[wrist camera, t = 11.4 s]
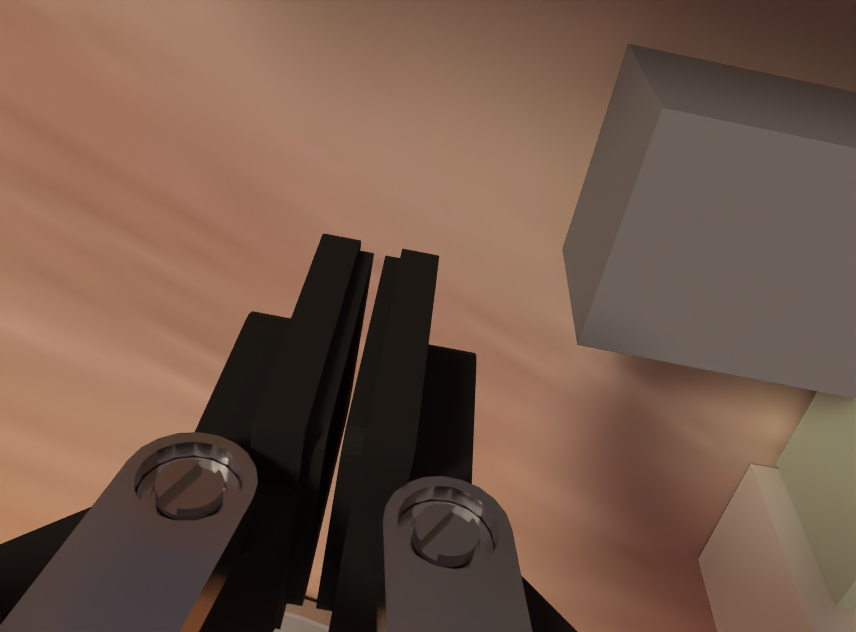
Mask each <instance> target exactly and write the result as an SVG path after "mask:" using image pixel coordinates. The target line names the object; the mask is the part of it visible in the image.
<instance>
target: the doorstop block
mask: <svg viewBox="0 0 856 632" xmlns="http://www.w3.org/2000/svg"><path fill="white" fill-rule="evenodd" d="M563 255H564V262H565V268H566V275H567V281H568V288H569V294H570V300H571V307H572V313H573V320H574V326H575V333H576V339H577V345H581V346H586V347H591V348H596V349H601V350H606V351H612V352H617V353H622V354H627V355H632V356H637V357H643V358H648V359H653V360H658V361H663V362H668V363H673V364H679V365H684V366H689V367H694V368H699V369H704V370H709V371H715V372H720V373H725V374H730V375H735V376H740V377H746V378H751V379H756V380H761V381H766V382H771V383H776V384H782V385H787V386H792V387H797V388H802V389H807V390H812V391H818V392H823V393H828V394H833V395H838V396H843V397H849V398H854V397H855V395H856V93H855V92H851V91H846V90H841V89H837V88H832V87H827V86H822V85H818V84H813V83H808V82H804V81H799V80H794V79H790V78H785V77H780V76H776V75H771V74H766V73H762V72H757V71H752V70H748V69H743V68H738V67H733V66H729V65H724V64H719V63H715V62H710V61H705V60H701V59H696V58H691V57H687V56H682V55H677V54H673V53H668V52H663V51H659V50H654V49H649V48H644V47H640V46H635V45H630V44H628V47H627V50H626V53H625V56H624V59H623V62H622V65H621V69H620V72H619V75H618V78H617V81H616V84H615V87H614V90H613V93H612V97H611V100H610V103H609V106H608V109H607V112H606V115H605V118H604V122H603V125H602V128H601V131H600V134H599V137H598V140H597V143H596V146H595V150H594V153H593V156H592V159H591V162H590V165H589V168H588V171H587V174H586V178H585V181H584V184H583V187H582V190H581V193H580V196H579V199H578V202H577V206H576V209H575V212H574V215H573V218H572V221H571V224H570V227H569V231H568V234H567V237H566V240H565V243H564V246H563Z"/></svg>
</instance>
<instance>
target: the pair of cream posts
mask: <svg viewBox="0 0 856 632" xmlns="http://www.w3.org/2000/svg"><path fill="white" fill-rule="evenodd" d="M698 561H699V565H700V569H701V573H702V576H703V580H704V584H705V588H706V592H707V595H708V599H709V603H710V607H711V610H712V614H713V618H714V622H715V626H716V629H717V632H856V610H853V609H847V608H842V607H836V604H835V602H834V600H833V597H832V595H831V592H830V590H829V588H828V585H827V583H826V580H825V578H824V576H823V573H822V571H821V568H820V566H819V564H818V561H817V559H816V557H815V554H814V552H813V549H812V547H811V545H810V542H809V540H808V537H807V535H806V533H805V530H804V528H803V525H802V523H801V521H800V518H799V516H798V513H797V511H796V509H795V506H794V504H793V502H792V499H791V497H790V494H789V492H788V490H787V487H786V485H785V482H784V480H783V478H782V475H781V473H780V470H779V469H776V468H770V467H765V466H759V465H754V464H750V466H749V468H748V470H747V472H746V473H745V475H744V477H743V479H742V481H741V482H740V484H739V486H738V488H737V490H736V491H735V493H734V495H733V497H732V499H731V500H730V502H729V504H728V506H727V508H726V510H725V511H724V513H723V515H722V517H721V519H720V520H719V522H718V524H717V526H716V528H715V529H714V531H713V533H712V535H711V537H710V538H709V540H708V542H707V544H706V546H705V547H704V549H703V551H702V553H701V555H700V556H699V558H698Z"/></svg>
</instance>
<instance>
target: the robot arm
mask: <svg viewBox="0 0 856 632" xmlns="http://www.w3.org/2000/svg"><path fill="white" fill-rule="evenodd" d="M360 248H361V241H360V240H355V239H350V238H345V237H339V236H334V235H329V234H323V235H322V237H321V240H320V243H319V245H318V248H317V251H316V253H315V256H314V259H313V261H312V264H311V267H310V269H309V272H308V275H307V277H306V280H305V283H304V285H303V288H302V291H301V293H300V296H299V299H298V301H297V304H296V307H295V309H294V312H293V315H292V317H291V318H285V317H280V316H275V315H269V314H264V313H259V312H253V311H252V312H251V313H249V315H248V317H247V319H246V320H245V323H244V325H243V327H242V329H241V331H240V334H239V336H238V338H237V340H236V342H235V345H234V347H233V349H232V351H231V353H230V356H229V358H228V360H227V362H226V364H225V367H224V369H223V371H222V373H221V375H220V378H219V380H218V382H217V384H216V386H215V389H214V391H213V393H212V395H211V397H210V400H209V402H208V404H207V406H206V408H205V411H204V413H203V415H202V417H201V419H200V422H199V424H198V426H197V428H196V430H195V432H193V433H177V434H173V435H169V436H166V437H162V438H158V439H156V440H155V441H153V442H151V443H149V444H147V445H145V446H143V447H141V448H140V449H139V450H138V451H137V452H136V453H135V454H134V455H133V456H132V457H131V458H130V459H129V460H128V461H127V462H126V463H125V464H124V466H123V467H122V468H121V470H120V471H119V472H118V474H117V475H116V476H115V477H114V479H113V480H112V481H111V483H110V484H109V485H108V486H107V488H106V489H105V490H104V492H103V493H102V494H101V496H100V497H99V498H98V499H97V501H96V502H95V503H94V505H93V506H92V507H90V508H87V509H85V510H82V511H80V512H78V513H75V514H73V515H70V516H68V517H65V518H63V519H61V520H58V521H56V522H53V523H51V524H48V525H46V526H44V527H41V528H39V529H36V530H34V531H31V532H29V533H27V534H24V535H22V536H19V537H17V538H14V539H12V540H10V541H7V542H5V543H2V544H0V632H577V631H576V630H575V629H574V628H573V627H572V626H571V625H570V624H569V623H568V622H567V621H566V620H565V619H564V618H563V617H562V616H561V615H560V614H559V613H558V612H557V611H556V610H555V609H554V608H553V607H552V606H551V605H550V604H549V603H548V602H547V601H546V600H545V599H544V598H543V597H542V596H541V595H540V594H539V593H538V592H537V591H536V590H535V589H534V588H533V587H532V586H531V585H530V584H529V583H528V582H527V581H526V580H525V579H524V578H523V577H522V576H521V572H520V567H519V562H518V557H517V552H516V547H515V542H514V536H513V531H512V528H511V525H510V523H509V520H508V517H507V515H506V513H505V511H504V510H503V509H502V508H501V506H500V505H499V504H498V503H497V501H496V500H495V499H494V498H493V497H491V496H490V495H489V494H487V493H486V492H485V491H483V490H482V489H481V488H479V487H477V486H475V485H472V462H473V436H474V410H475V384H476V354H475V353H472V352H466V351H461V350H456V349H450V348H445V347H440V346H434V345H429V336H430V328H431V319H432V311H433V303H434V295H435V287H436V278H437V270H438V262H439V256H438V255H433V254H428V253H423V252H417V251H412V250H407V249H402V252H401V257H400V258H396V257H390V256H385V260H384V265H383V269H382V273H381V278H380V282H379V286H378V291H377V295H376V299H375V304H374V308H373V312H372V317H371V321H370V325H369V330H368V334H367V338H366V343H365V347H364V351H363V356H362V360H361V364H360V369H359V373H358V377H357V382H356V386H355V390H354V395H353V399H352V403H351V408H350V412H349V416H348V421H347V425H346V430H345V435H344V440H343V445H342V451H341V456H340V462H339V468H338V475H337V481H336V487H335V493H334V499H333V505H332V512H331V518H330V524H329V530H328V536H327V543H326V549H325V555H324V561H323V567H322V574H321V580H320V586H319V592H318V598H317V603H316V602H313V601H310V600H307V599H305V595H306V590H307V586H308V582H309V577H310V573H311V569H312V565H313V560H314V556H315V552H316V547H317V543H318V539H319V535H320V530H321V526H322V522H323V517H324V513H325V509H326V504H327V500H328V496H329V492H330V487H331V483H332V479H333V474H334V470H335V466H336V462H337V457H338V453H339V449H340V444H341V440H342V436H343V432H344V427H345V423H346V419H347V414H348V409H349V404H350V399H351V393H352V387H353V381H354V374H355V368H356V362H357V356H358V350H359V344H360V337H361V331H362V325H363V319H364V313H365V307H366V301H367V294H368V288H369V282H370V276H371V270H372V264H373V257H374V253H370V252H364V251H360Z"/></svg>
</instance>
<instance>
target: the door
mask: <svg viewBox="0 0 856 632" xmlns="http://www.w3.org/2000/svg"><path fill="white" fill-rule="evenodd" d="M776 463H777V466H778V468H779V470H780V473H781V475H782V478H783V480H784V482H785V485H786V487H787V490H788V492H789V494H790V497H791V499H792V502H793V504H794V506H795V509H796V511H797V513H798V516H799V518H800V521H801V523H802V525H803V528H804V530H805V533H806V535H807V537H808V540H809V542H810V545H811V547H812V549H813V552H814V554H815V557H816V559H817V561H818V564H819V566H820V568H821V571H822V573H823V576H824V578H825V580H826V583H827V585H828V588H829V590H830V592H831V595H832V597H833V600H834V602H835V604H836V607H842V608H847V609H853V610H856V395H855V397H854V398H849V397H843V396H838V395H833V394H828V393H823V392H818V391H817V393H816V395H815V396H814V398H813V400H812V402H811V403H810V405H809V407H808V409H807V410H806V412H805V414H804V415H803V417H802V419H801V421H800V422H799V424H798V426H797V428H796V429H795V431H794V433H793V435H792V436H791V438H790V440H789V441H788V443H787V445H786V447H785V448H784V450H783V452H782V454H781V455H780V457H779V459H778V461H777V462H776Z"/></svg>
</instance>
